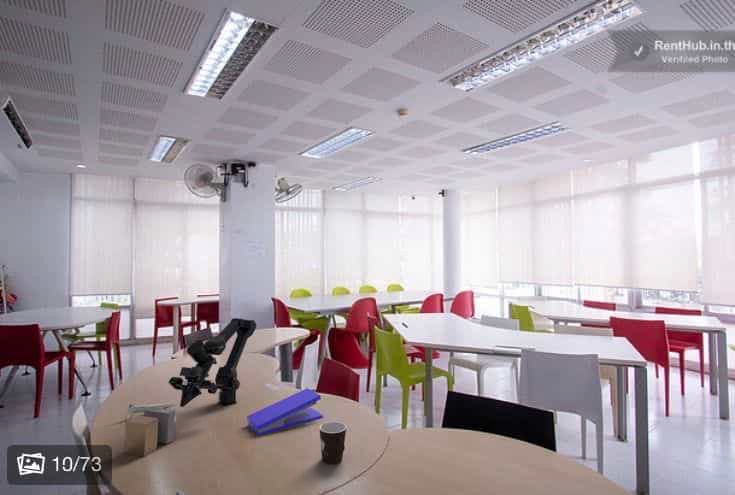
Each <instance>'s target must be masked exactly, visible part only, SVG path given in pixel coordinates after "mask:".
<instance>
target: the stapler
mask: <svg viewBox="0 0 735 495" xmlns="http://www.w3.org/2000/svg"><path fill="white" fill-rule="evenodd" d="M321 398H322V397H321V395H320V394H318V393H317V392H315V391H313V390H311V389H310V388H307V387H306V388H304V389H302V390H301V391H298V392H296V393H294V394H291V395H290V396H287V397H286V398H283V399H281V400H279V401H276V402H274V403H272V404H270V405H268V406H266V407H264V408H262V409H259V410H257V411H256V412H254V413H251V414H249V415H247V416H246V421H247V427H248V428H249V429H251V430H252V431H253V432H254V433H255V434H257V435H258V436H262V435H266V434H268V433H272V432H275V431H276V432H277V431H280V430H283V429H287V428H290V427H294V426H298V425H301V424H305V423H308V422H311V421H315V420H319V419H323V418H324V414H322V413H320V412H318V411H317V410H315V409H313V408H312V406H315V405H317V403H318V401H320V400H322V399H321Z"/></svg>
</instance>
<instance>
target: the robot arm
mask: <svg viewBox="0 0 735 495" xmlns="http://www.w3.org/2000/svg"><path fill="white" fill-rule="evenodd" d="M256 329H257V322H255V320H253V319H243V318H240V317H239V318H238V317H234V318H231V320H230V322H228V324H227V325H226V326H225V327H224V328H223V329H221V331H220V332H219V333H218V334H217V335H216V336H213V337H211V338H209V339H208V340H206V341H205V343H204V342H203V340H199V339H198V340H196V342H193V343H191V345H189V346H188V347H187V350H186V353H187V354H188V356H189V357H190V358H191V359H192V361H194V362H195V363H196V364H195V366H192V367H186V366H184V367H183V366H181V368H180V371H179V376H171V377H170V378H169V380H168V385H170V386H171V387H172V388H173V389H174V390H177V391H181V396H180V404H179V406H180V408H184V407H185V406H186V405H188V403H190V402H192V401H193V400H194V399H196V397H198V396H199V395H202V394H203V390H207V392H208V394H212V395H216V393H217V392H218V394H217V402H218V403H219V404H220V405H221V407H223V406H228V405H233V404H237V403H238V401H237V400H236V399H237V398H236V396H237V390H239V388H240V385H241V382H240V380H239V379H238V371H237V368H238V364H239V362H240V359H241V357H242V354H243V352H244V349H245V346H246V343H247V341H248V339H249V338H250V337H252V335H254V332H255V331H256ZM235 333H236V338H235V339H234V340H235V341H234V343H233V346H232V348H231V350H230V353H229V355H228V357H227V360H226V363H225V365H223V366H220V367H218V370H217V373H216V374H215V378H214V382H213V380H208V379H206V378H209V376H210V374H209V373H210V371H211V368H212V366H213V365H217V364H218V362H217V358H216V357H214V356H221V355H222V354H223V352H224V351H225V349H227V348H226V347H227V343H228V342H229V341H230V340H231V338H232V337H233V336H234V335H235ZM182 377H184V379H185V380H184V379H183V378H182ZM218 390H219V391H218Z"/></svg>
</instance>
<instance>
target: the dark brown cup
mask: <svg viewBox="0 0 735 495" xmlns="http://www.w3.org/2000/svg"><path fill="white" fill-rule="evenodd" d="M318 427H319V437H320V438H319V439H320V450H321V460H322V462H323V463H325V464H326V465H337V464H340V463H341V462H342V461H343V456H344V451H345V446H346V445H345V441H346V435H347V425H346V424H345V423H344V422H339V421H327V422H323V423H322V424H320V425H319V426H318Z"/></svg>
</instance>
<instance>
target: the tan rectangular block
mask: <svg viewBox="0 0 735 495" xmlns="http://www.w3.org/2000/svg"><path fill="white" fill-rule="evenodd" d="M176 421H177V415H176V414H175V422H176ZM124 425H125V426H124V428H125V429H124V442H123V443H124V445H123V454H126V453H127V455H132V456H138V457H146V456H148V455H150V454H151V453H154V452H155V451H156V450H158V442H157V435H158V430H159V423H158V418H152V417H145V416H144V415H135V416H134V418H132V419H130V418H129V420H125V424H124Z"/></svg>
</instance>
